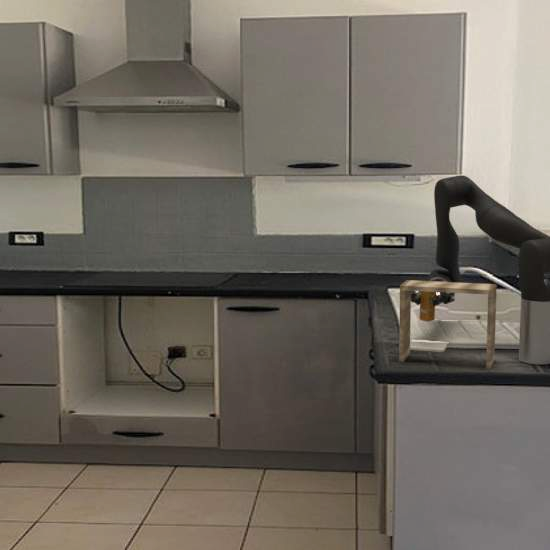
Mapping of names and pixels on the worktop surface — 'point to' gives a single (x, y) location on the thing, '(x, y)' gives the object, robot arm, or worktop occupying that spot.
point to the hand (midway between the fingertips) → (426, 301)
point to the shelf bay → (451, 288)
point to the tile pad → (428, 346)
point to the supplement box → (427, 306)
